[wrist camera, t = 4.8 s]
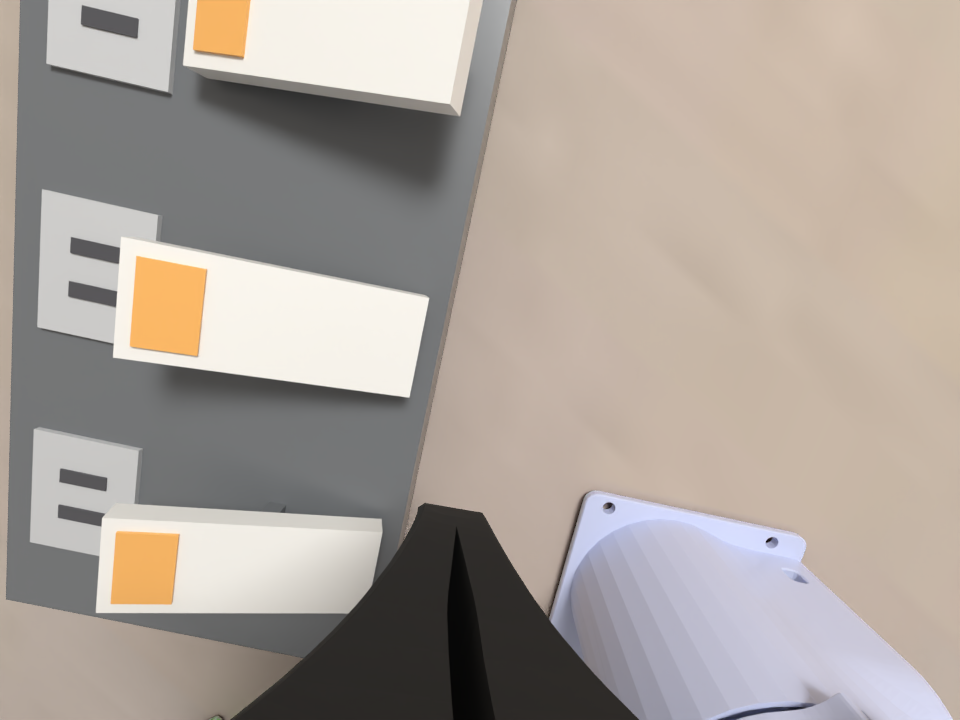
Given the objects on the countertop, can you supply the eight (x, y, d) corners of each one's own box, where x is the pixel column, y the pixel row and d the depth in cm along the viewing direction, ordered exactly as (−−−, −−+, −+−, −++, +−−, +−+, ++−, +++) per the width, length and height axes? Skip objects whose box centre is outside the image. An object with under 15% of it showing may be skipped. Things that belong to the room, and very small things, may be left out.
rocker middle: (425, 295, 15) (429, 298, 14) (406, 389, 15) (409, 398, 15) (135, 236, 13) (118, 236, 12) (126, 350, 13) (111, 358, 12)
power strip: (524, -35, 16) (536, -131, 12) (387, 614, 21) (365, 692, 17) (113, -136, 15) (-10, -271, 12) (75, 551, 20) (-20, 617, 17)
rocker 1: (487, -24, 11) (477, -50, 10) (460, 116, 12) (448, 102, 11) (218, -45, 13) (191, -69, 12) (206, 78, 14) (179, 63, 13)
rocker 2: (381, 519, 16) (382, 534, 15) (366, 596, 17) (366, 615, 16) (115, 502, 14) (100, 519, 13) (108, 594, 15) (94, 615, 14)
